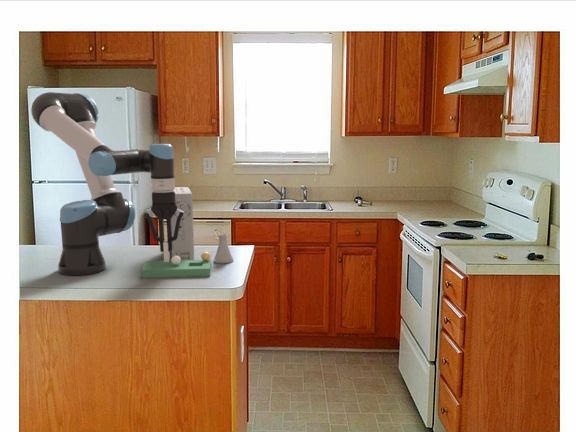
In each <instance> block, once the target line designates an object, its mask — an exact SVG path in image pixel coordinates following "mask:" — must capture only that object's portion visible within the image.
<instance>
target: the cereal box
mask: <svg viewBox="0 0 576 432" xmlns="http://www.w3.org/2000/svg"><path fill="white" fill-rule="evenodd" d="M173 191H174V192H175V199H176V206H177V209H179V210H181V211H184V214H183V216H182V218H181V222H180V227H179V232H178V237H177V239H176V240H174V241H172V251H171V254H172V257H173V256H179V257H180V259H181V260H195V244H194V242H195V240H194V239H195V238H194V212H193V211H194V209H193V192H192V191H191V190H190V188H189V187H188V186H180V187H179V186H175V189H174V190H173ZM176 214H177V212H175V214H174V215H173V217H172V218H171V226H172V237H173V236H174V231H175V226H176V221H177V217H178V216H177V215H176Z"/></svg>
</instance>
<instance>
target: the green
mask: <svg viewBox="0 0 576 432" xmlns="http://www.w3.org/2000/svg"><path fill="white" fill-rule="evenodd" d="M212 264H213V263H212V259H209V260H208V261H204V260H202V259H194V260H181V262H180V263H179V264H178V265H174V264H172V262H171V260H169V262H164V260H147V261H146V263H145V264H144V265H143V268H142V269H141V278H142V279H147V278H149V279H150V278H151V279H152V278H153V279H155V278H183V277H184V278H185V277H186V278H187V277H189V278H191V277H211V272H212Z"/></svg>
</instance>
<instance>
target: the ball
mask: <svg viewBox="0 0 576 432" xmlns="http://www.w3.org/2000/svg"><path fill="white" fill-rule="evenodd" d="M170 261H171V262H172V264H174V265H178V264H179V263H180V262H181V259H180V257H179V256H172V257H171V258H170Z"/></svg>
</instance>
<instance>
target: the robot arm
mask: <svg viewBox="0 0 576 432" xmlns="http://www.w3.org/2000/svg"><path fill="white" fill-rule="evenodd" d="M30 110H31V111H30V112H31V116H32V119H33V120H34V122H35V123H36V124H37V126H39V127H40V128H41V129H43V130H44V131H45V132H50V133H52V134H53V135H55V136H56V137H58V139H60V140H61V141H62V142H63V143H65V144H66V145H67V146H69V147H70V148H71V149H72V150H74V151H75V154H76V157H77V159H78V163H79V165H80V167H81V171H82V173H83V175H84V179H85V181H86V184H87V187H88V190H89V192H90V196H91V198H90V199H82V200H75V201H72V202H71V201H70V202H68V203H66V204H64V205H63V206H61V208H60V211H59V222H60V230H61V232H60V233H61V245H62V246H61V247H62V251H61V254H60V258H59V262H58V265H57V266H58V267H57V268H58V269H57V270H58V273H59V274H60V275H64V276H85V275H92V274H97V273H99V272H102V271H104V270H105V269H106V265H107V264H106V260H105V257H104V255H103V253H102V251H101V248H100V241H99V237H103V236H108V235H111V234H121V233H122V232H125V231H128V230H129V229H131V228H132V227H133V225H134V222H135V220H136V209H135V206H134V204H133V202H132V201H130V200H129V199H128V198H127V199H126V198H124V196H123V193H122V191H120V190H118V189H116V187H115V184H114V181H113V178H112V176H115V175H124V174H125V175H126V174H137V173H150V183H151V184H150V185H151V190H152V192H151V202H152V206H151V208H150V210H148V211H146V212H145V213H144V216H145V218H146V219H147V221H148V224H149V227H150V228H149V229H150V231H151V234H152V238H153V240H154V241H155V242H159V249H160V252H163V261H164V262H169V261H171V258H170V257H171V255H170V252H172V241H174V240H176V239H177V237H178V232H179V227H180V222H181V218H182V216H183V214H184V211H181V210H179V209H177V206H176V199H175V192H174V191H173V190H174V189H175V187H176V182H175V179H176V178H175V163H174V159H175V155H174V148H173V145H171V144H170V143H150V145H149V147H148V149H137V148H136V149H129V150H128V149H127V150H113V149H111V148H110V147H109V146H108V145H106V144H105V143H103V142H102V141H101V140H100V139H98V138H97V135H96V132H95V129H96V127H97V122H98V120H99V109H98V106H97V104H96V102H95V100H94V99H93V98H92V97H90V96H88V95H86V94H81V93H77V92H75V93H67V92H65V93H64V92H54V91H49V92H44V93H41V94H40V95H38V96H37V97H36V98H35V99H34V100H33V102H32V104H31V109H30ZM175 212H177V214H176V215H177V216H178V217H177V221H176V226H175V231H174V236H173V237H172V226H171V218H172V217H173V215H174V214H175ZM153 216H155V217H156V218H157V220H158V221H157V222H158V230H157V227H156V224H155V220H154V218H153ZM164 221H166V235H167V236H166V237H167V240H165V227H164V226H165V225H164V223H165V222H164ZM158 232H159V233H158Z"/></svg>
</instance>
